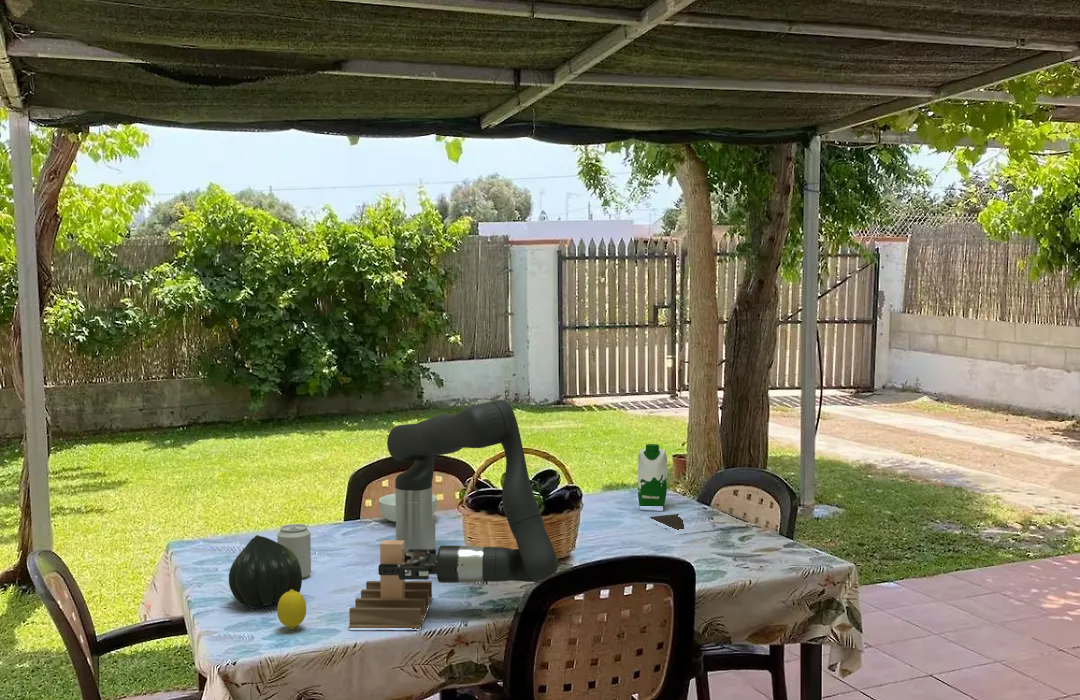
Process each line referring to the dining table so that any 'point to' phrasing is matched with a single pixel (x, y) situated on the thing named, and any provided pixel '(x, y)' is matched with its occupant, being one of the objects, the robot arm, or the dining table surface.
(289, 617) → the lemon
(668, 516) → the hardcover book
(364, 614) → the drying rack
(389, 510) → the cereal bowl
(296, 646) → the dining table surface
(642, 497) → the milk carton
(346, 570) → the dining table surface
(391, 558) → the clay bar
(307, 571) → the can
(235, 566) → the squash
